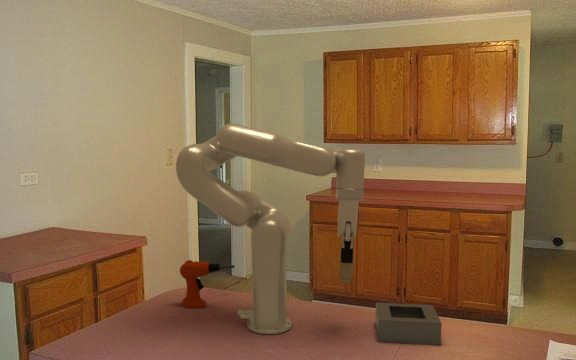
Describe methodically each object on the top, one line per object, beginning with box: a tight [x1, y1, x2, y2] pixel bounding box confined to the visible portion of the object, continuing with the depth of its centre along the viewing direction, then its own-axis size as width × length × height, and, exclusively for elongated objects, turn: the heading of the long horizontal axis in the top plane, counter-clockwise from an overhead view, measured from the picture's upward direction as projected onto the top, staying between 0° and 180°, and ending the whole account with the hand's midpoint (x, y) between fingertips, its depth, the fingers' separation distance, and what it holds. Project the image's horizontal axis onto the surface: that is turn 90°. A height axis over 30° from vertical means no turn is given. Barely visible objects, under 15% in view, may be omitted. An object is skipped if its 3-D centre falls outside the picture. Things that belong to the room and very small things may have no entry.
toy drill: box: [179, 259, 235, 309], centre depth 160 cm, size 5×19×15 cm, turn 78°
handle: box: [339, 227, 358, 284], centre depth 140 cm, size 5×6×15 cm
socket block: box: [374, 302, 442, 346], centre depth 139 cm, size 16×14×6 cm
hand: (346, 259), depth 140 cm, fingers closed on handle, 4 cm apart
